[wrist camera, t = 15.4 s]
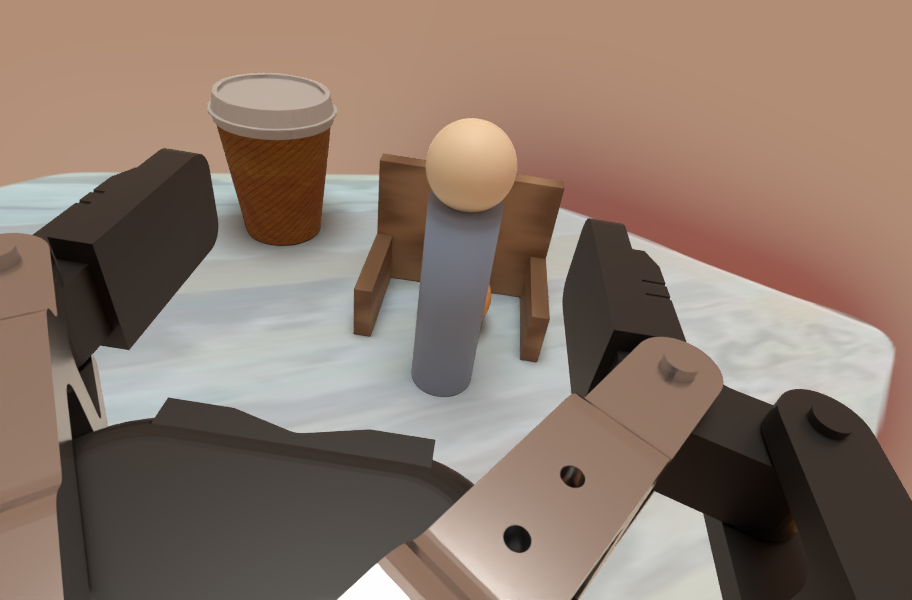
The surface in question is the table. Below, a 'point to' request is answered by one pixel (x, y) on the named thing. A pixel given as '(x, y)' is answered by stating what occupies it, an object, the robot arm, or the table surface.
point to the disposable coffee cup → (275, 151)
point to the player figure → (459, 249)
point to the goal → (515, 253)
